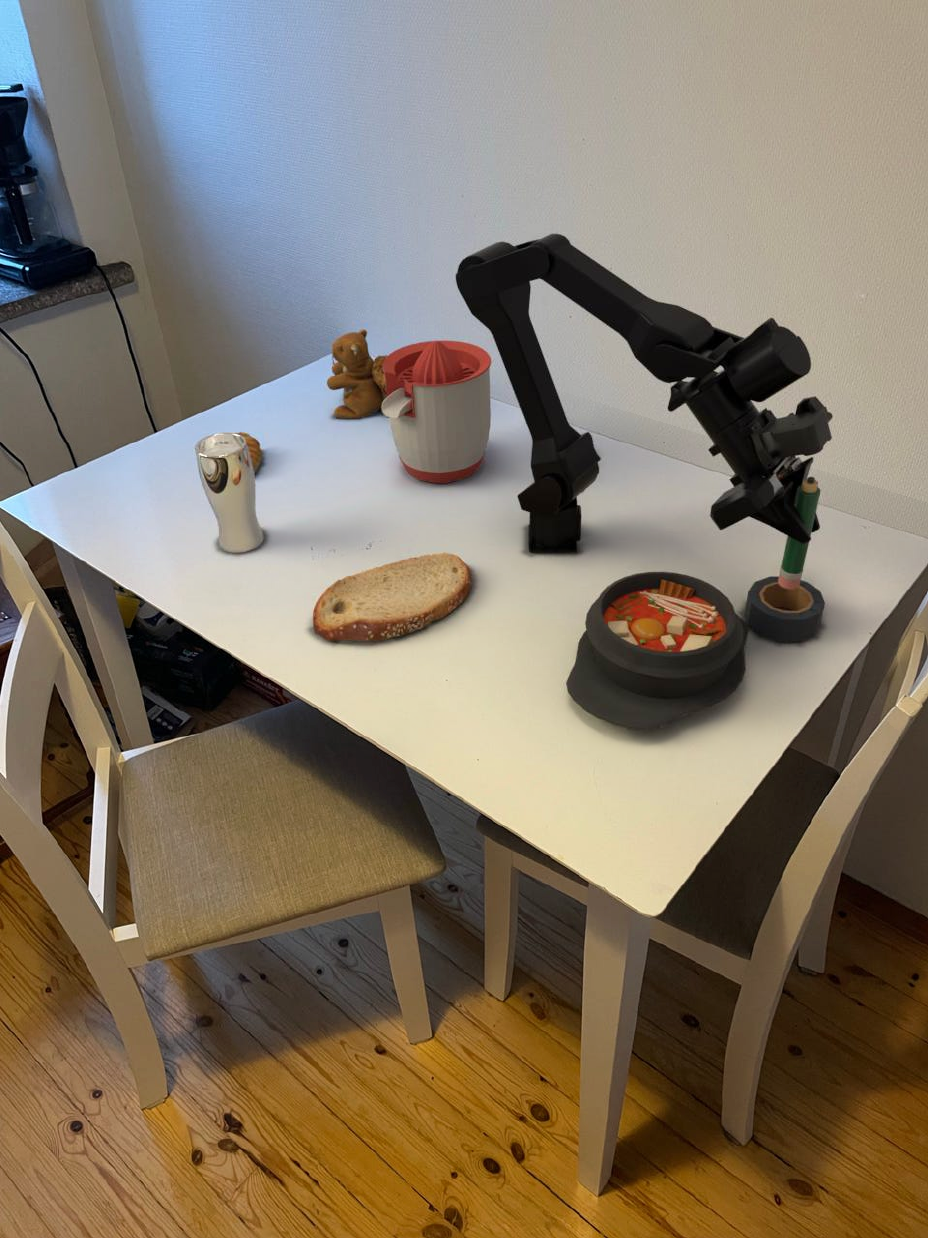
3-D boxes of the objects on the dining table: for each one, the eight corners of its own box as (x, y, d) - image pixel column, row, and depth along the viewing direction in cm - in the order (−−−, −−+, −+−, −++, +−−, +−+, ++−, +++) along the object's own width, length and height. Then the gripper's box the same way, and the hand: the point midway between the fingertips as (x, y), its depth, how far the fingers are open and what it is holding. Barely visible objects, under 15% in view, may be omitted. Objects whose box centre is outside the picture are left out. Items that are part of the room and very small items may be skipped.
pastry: (268, 475, 147) (264, 453, 144) (225, 484, 145) (219, 461, 143) (260, 448, 154) (255, 426, 151) (218, 456, 152) (213, 434, 150)
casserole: (645, 587, 120) (651, 531, 115) (784, 644, 111) (797, 585, 105) (526, 694, 106) (526, 636, 101) (674, 771, 96) (682, 710, 91)
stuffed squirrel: (344, 392, 169) (335, 319, 161) (420, 398, 166) (415, 324, 158) (323, 417, 162) (313, 342, 154) (402, 424, 158) (396, 348, 150)
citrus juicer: (363, 470, 147) (348, 345, 134) (447, 432, 156) (440, 311, 143) (429, 508, 137) (419, 377, 125) (515, 464, 146) (514, 338, 134)
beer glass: (276, 533, 134) (258, 436, 125) (248, 559, 129) (226, 461, 120) (236, 523, 136) (214, 428, 127) (206, 548, 131) (182, 451, 122)
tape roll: (752, 642, 111) (756, 619, 109) (739, 599, 118) (743, 576, 116) (825, 643, 111) (831, 619, 108) (809, 599, 117) (814, 576, 115)
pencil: (775, 587, 110) (797, 481, 102) (779, 575, 112) (801, 470, 103) (798, 591, 110) (821, 485, 101) (801, 579, 111) (825, 474, 103)
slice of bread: (478, 567, 125) (477, 543, 123) (449, 655, 112) (447, 630, 109) (347, 556, 129) (344, 532, 126) (303, 640, 115) (299, 615, 113)
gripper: (755, 419, 92) (845, 549, 94) (823, 352, 104) (903, 469, 105) (672, 469, 101) (756, 587, 102) (744, 402, 112) (818, 509, 114)
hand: (811, 536), depth 106 cm, fingers closed on pencil, 2 cm apart
